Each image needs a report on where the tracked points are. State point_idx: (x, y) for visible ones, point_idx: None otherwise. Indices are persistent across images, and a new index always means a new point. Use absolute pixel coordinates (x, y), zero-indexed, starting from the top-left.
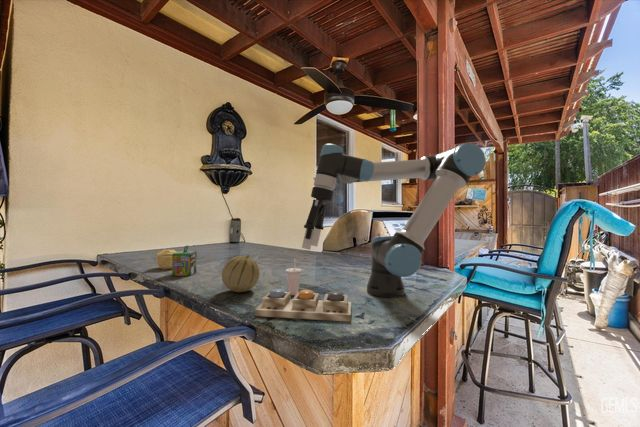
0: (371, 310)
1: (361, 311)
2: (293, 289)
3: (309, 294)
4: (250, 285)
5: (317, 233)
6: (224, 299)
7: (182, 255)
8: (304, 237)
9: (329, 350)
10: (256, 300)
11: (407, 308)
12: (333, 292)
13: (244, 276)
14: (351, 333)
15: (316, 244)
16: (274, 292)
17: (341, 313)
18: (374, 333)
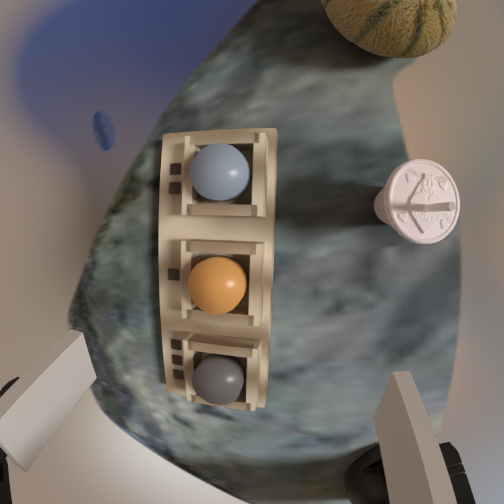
0: (250, 436)
1: (240, 416)
2: (377, 208)
3: (194, 301)
4: (358, 45)
5: (401, 499)
6: (290, 14)
7: None
8: (26, 375)
9: (68, 328)
10: (299, 94)
11: (272, 490)
12: (224, 379)
13: (334, 11)
14: (123, 374)
15: (379, 423)
16: (195, 168)
17: (170, 374)
18: (134, 410)
